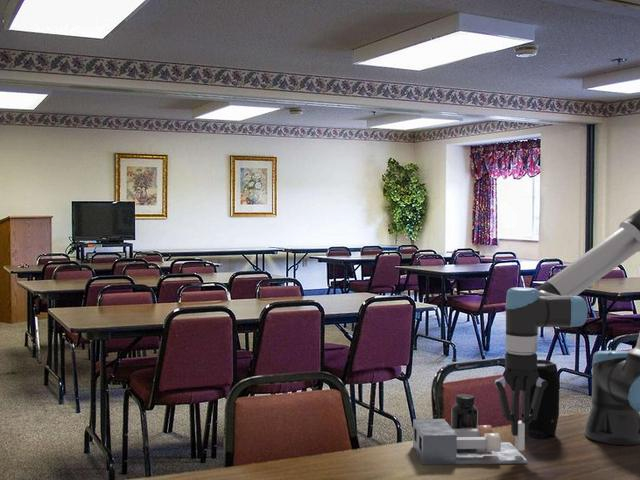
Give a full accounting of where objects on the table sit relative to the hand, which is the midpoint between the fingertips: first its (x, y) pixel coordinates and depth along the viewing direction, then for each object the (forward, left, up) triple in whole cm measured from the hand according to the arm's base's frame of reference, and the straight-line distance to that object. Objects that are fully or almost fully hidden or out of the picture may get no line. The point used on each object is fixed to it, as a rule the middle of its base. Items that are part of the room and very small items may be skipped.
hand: (519, 448), depth 185 cm
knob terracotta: (+12, -7, -1) cm, 14 cm away
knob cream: (+12, 0, -1) cm, 12 cm away
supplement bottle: (+10, -14, -3) cm, 18 cm away
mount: (+12, -4, -3) cm, 12 cm away
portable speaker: (-12, -20, -3) cm, 23 cm away
